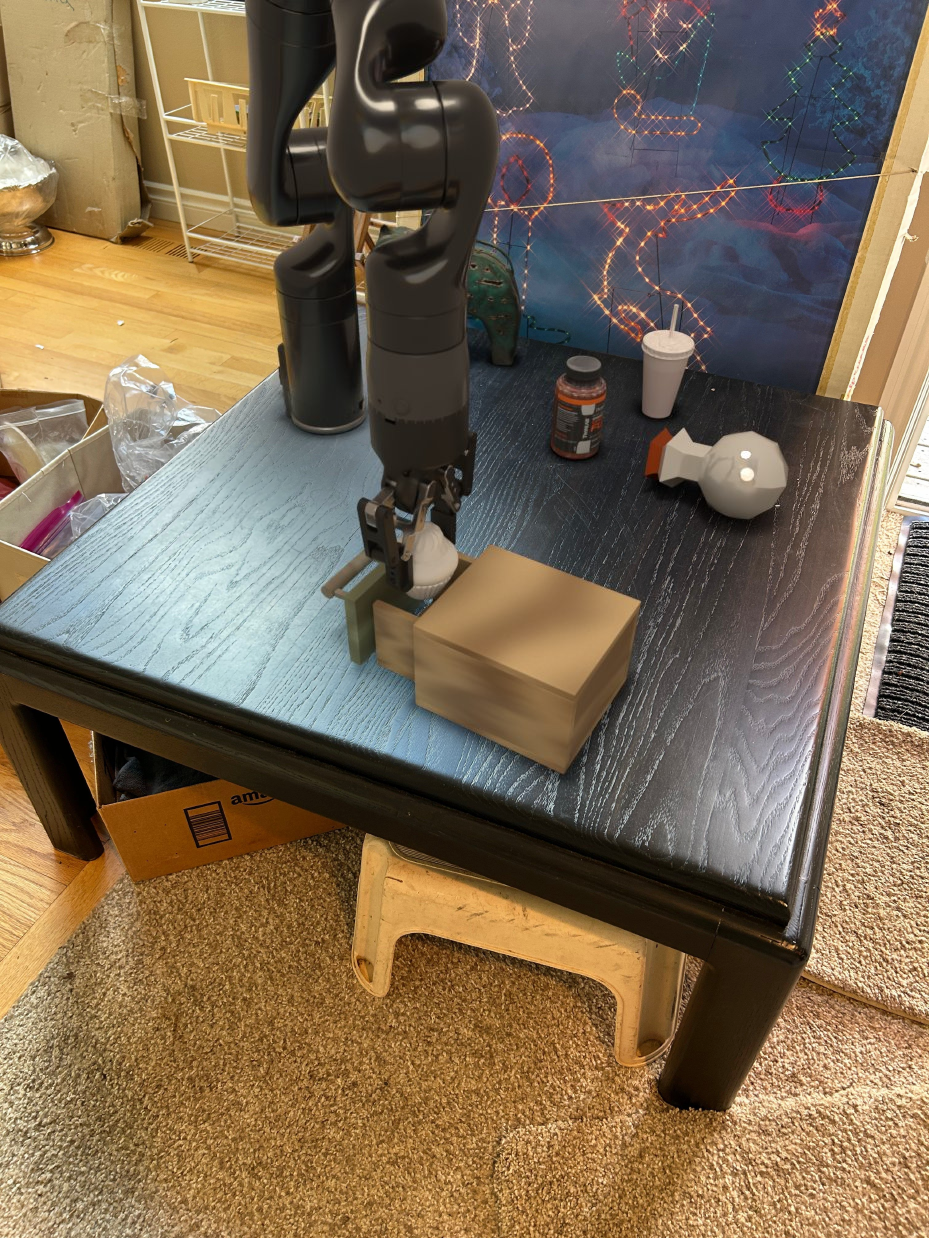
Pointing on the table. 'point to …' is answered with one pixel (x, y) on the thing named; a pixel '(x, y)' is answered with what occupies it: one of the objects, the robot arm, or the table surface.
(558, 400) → the supplement bottle
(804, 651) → the table surface
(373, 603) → the drawer
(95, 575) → the table surface
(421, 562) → the muffin
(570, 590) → the cabinet
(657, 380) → the smoothie
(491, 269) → the ceramic cat
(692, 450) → the potion bottle
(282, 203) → the robot arm
